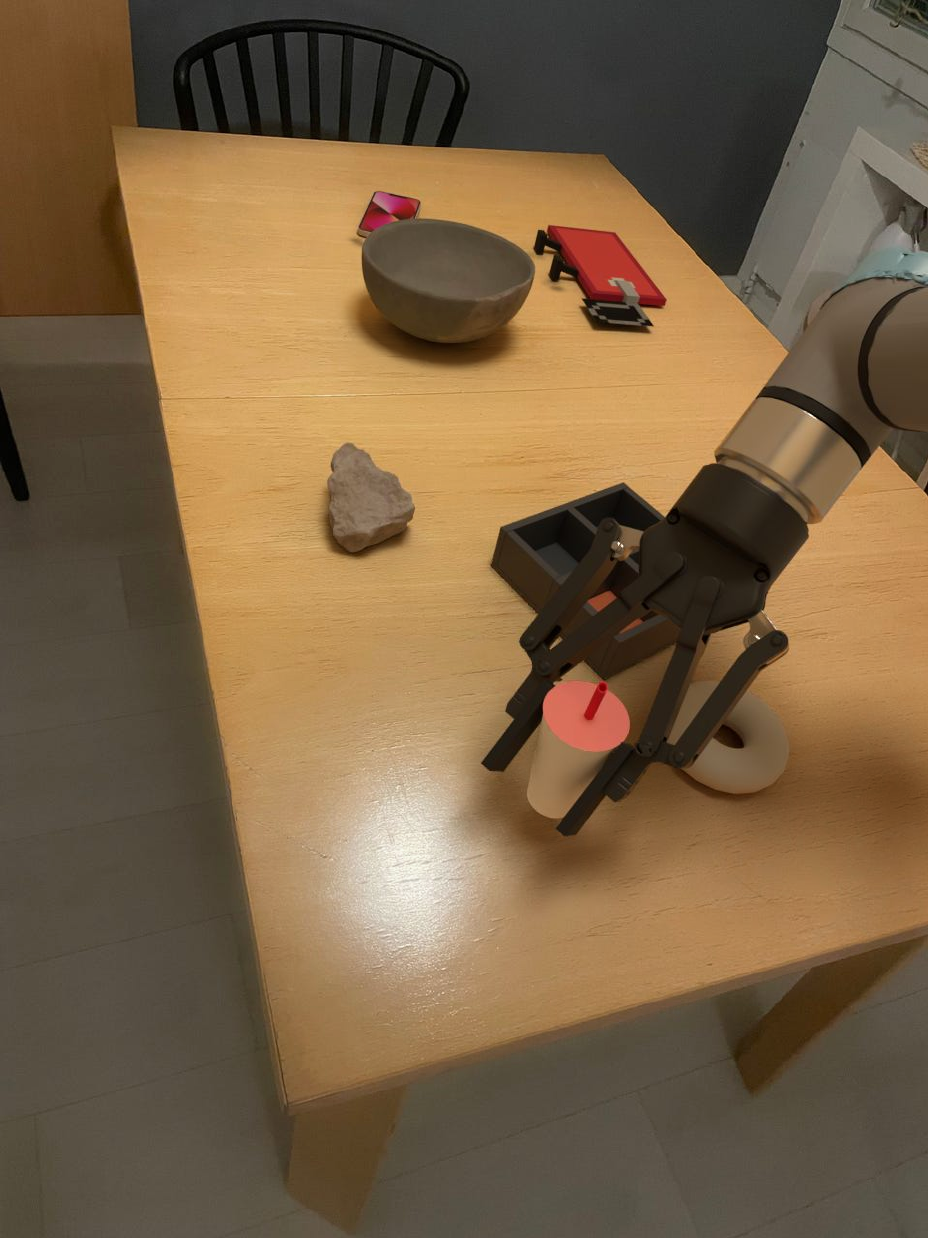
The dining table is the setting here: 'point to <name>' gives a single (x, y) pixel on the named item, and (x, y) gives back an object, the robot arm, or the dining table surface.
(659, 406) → the dining table surface
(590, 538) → the grid
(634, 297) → the red board with handle
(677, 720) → the donut
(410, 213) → the smartphone
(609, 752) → the cup
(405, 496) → the stone
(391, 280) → the bowl
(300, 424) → the dining table surface
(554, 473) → the dining table surface
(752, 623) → the robot arm
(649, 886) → the dining table surface
